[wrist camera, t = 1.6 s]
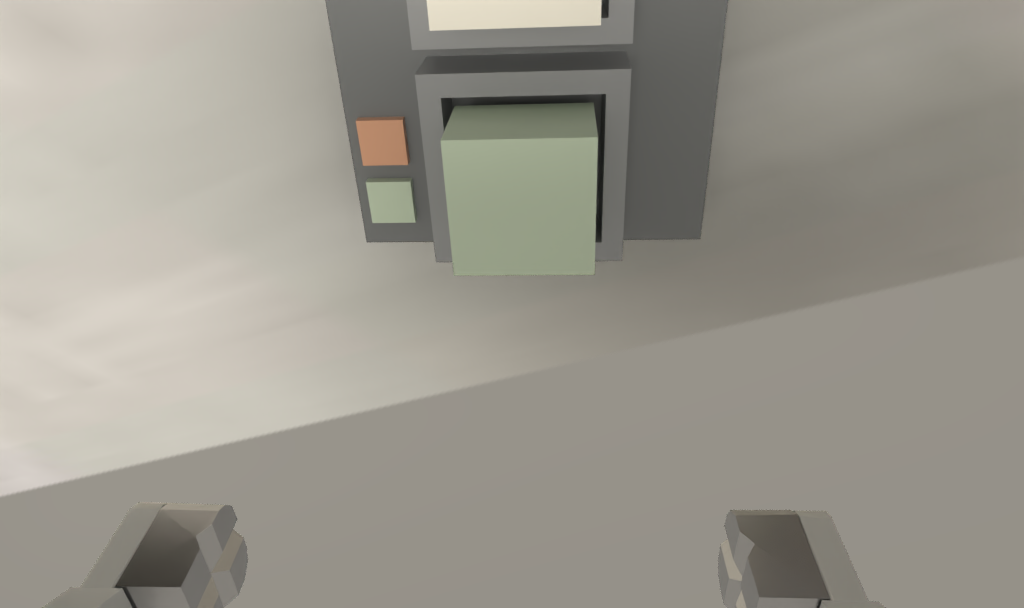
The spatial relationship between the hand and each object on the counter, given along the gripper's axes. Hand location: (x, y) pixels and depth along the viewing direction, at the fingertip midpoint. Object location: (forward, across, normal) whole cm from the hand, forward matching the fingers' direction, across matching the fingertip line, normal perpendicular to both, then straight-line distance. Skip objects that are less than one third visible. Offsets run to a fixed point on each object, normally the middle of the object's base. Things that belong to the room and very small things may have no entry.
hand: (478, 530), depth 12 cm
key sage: (+16, 0, 0) cm, 16 cm away
